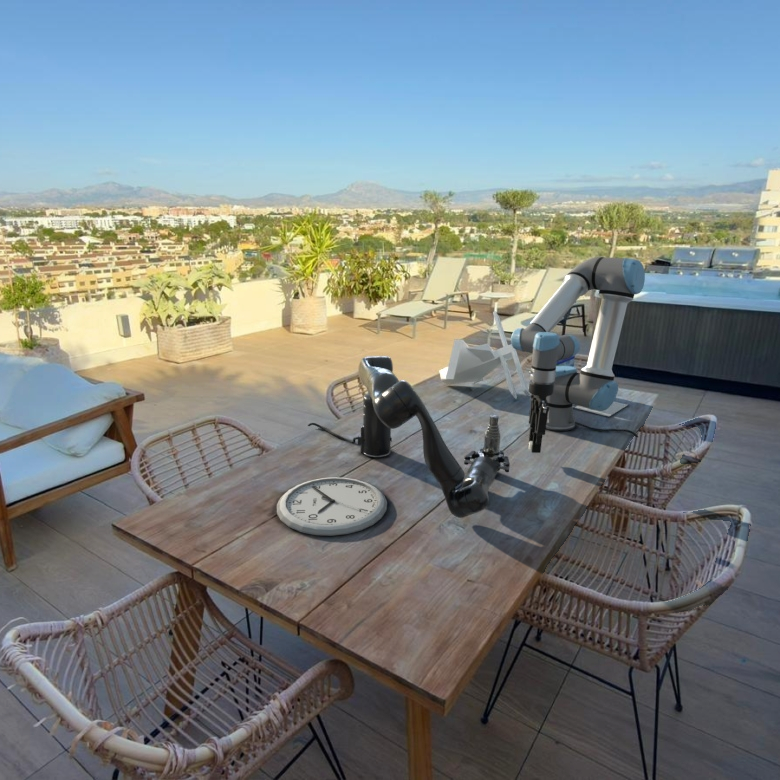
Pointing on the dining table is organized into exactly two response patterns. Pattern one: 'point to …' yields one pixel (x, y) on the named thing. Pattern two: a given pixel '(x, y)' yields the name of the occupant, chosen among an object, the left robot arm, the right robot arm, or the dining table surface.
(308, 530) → the wall clock
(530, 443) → the cap
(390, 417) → the left robot arm
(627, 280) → the right robot arm
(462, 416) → the dining table surface
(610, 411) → the invitation card
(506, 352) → the white plastic object
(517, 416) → the dining table surface
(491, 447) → the bottle
